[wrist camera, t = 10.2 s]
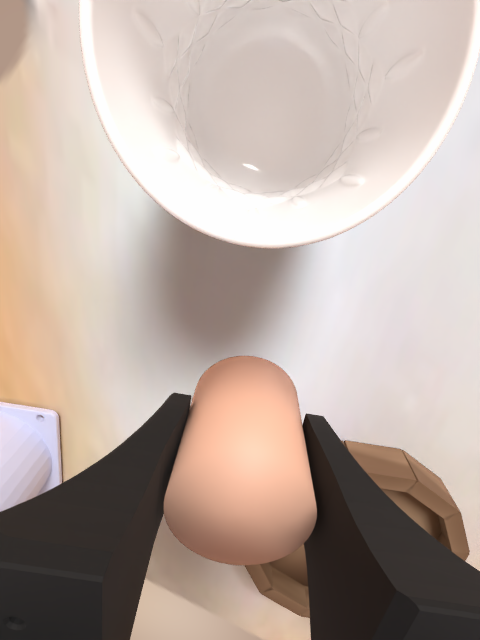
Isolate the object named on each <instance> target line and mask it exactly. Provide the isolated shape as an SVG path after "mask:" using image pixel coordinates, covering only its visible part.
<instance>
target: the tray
mask: <svg viewBox="0 0 480 640" xmlns="http://www.w3.org/2000/svg"><path fill="white" fill-rule="evenodd" d="M341 442H342V443H343V444H344V446H345V447H346V448H347V450H348V451H349V452H350V453H351V455H352V456H353V457H354V458H355V460H356V461H357V462H358V463H359V465H360V466H361V467H362V468H363V469H364V471H365V472H366V473H367V474H368V475H369V476H370V477H371V479H372V480H373V481H374V482H375V483H376V484H377V485H378V486H379V487H380V489H381V490H382V491H383V492H384V493H385V494H386V495H387V496H388V497H389V498H390V499H391V500H392V501H393V502H394V503H395V504H396V505H397V506H398V507H399V508H400V509H402V510H403V511H404V512H405V513H406V514H407V515H408V516H409V517H410V518H411V519H413V520H414V521H415V522H416V523H417V524H418V525H420V526H421V527H422V528H423V529H424V530H425V531H427V532H428V533H429V534H430V535H431V536H433V537H434V538H435V539H436V540H438V541H439V542H440V543H441V544H443V545H444V546H445V547H447V548H448V549H449V550H451V551H452V552H453V553H455V554H456V555H457V556H459V557H460V558H461V559H463V560H464V561H465V560H466V559H467V557H468V555H469V547H468V543H467V538H466V534H465V529H464V525H463V520H462V516H461V512H460V511H459V509H458V507H457V506H456V504H455V502H454V500H453V499H452V497H451V495H450V494H449V492H448V490H447V489H446V487H445V485H444V484H443V482H442V480H441V479H440V478H439V477H438V476H436V475H435V474H434V473H433V472H431V471H430V470H429V469H427V468H426V467H425V466H423V465H422V464H421V463H419V462H418V461H417V460H415V459H414V458H413V457H411V456H410V455H409V454H407V453H406V452H405V451H403V450H402V451H401V449H397V448H390V447H384V446H377V445H371V444H365V443H358V442H352V441H346V440H345V443H344V442H343V441H341ZM245 567H246V569H247V571H248V572H249V574H250V576H251V578H252V579H253V581H254V583H255V585H256V587H257V588H258V590H259V592H260V593H261V594H262V595H264V596H266V597H267V598H269V599H271V600H273V601H274V602H276V603H278V604H280V605H281V606H283V607H285V608H287V609H288V610H290V611H292V612H294V613H295V614H297V615H299V616H300V615H301V617H308V618H310V608H309V592H308V577H307V564H306V556H305V549H304V544H303V545H301V546H300V547H299V548H298V549H297V550H295V551H294V552H292V553H291V554H289V555H287V556H285V557H283V558H280V559H278V560H275V561H271V562H268V563H263V564H257V565H245Z"/></svg>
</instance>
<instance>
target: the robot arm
mask: <svg viewBox="0 0 480 640" xmlns="http://www.w3.org/2000/svg"><path fill="white" fill-rule="evenodd" d="M190 402H191V395H185V394H178V393H173V394H171V395H170V396H169V398H168V399H167V400H166V401H165V402H164V404H163V405H162V406H161V407H160V408H159V409H158V410H157V411H156V412H155V413H154V415H153V416H152V417H150V418H149V419H148V420H147V421H146V422H145V423H144V424H143V425H142V426H141V427H140V428H139V429H138V430H137V431H136V432H135V433H134V434H132V435H131V436H130V437H129V438H128V439H127V440H125V441H124V442H123V443H122V444H121V445H119V446H118V447H117V448H116V449H114V450H113V451H112V452H110V453H109V454H108V455H106V456H105V457H104V458H102V459H101V460H99V461H98V462H96V463H95V464H93V465H92V466H90V467H89V468H87V469H86V470H84V471H82V472H81V473H79V474H78V475H76V476H74V477H73V478H71V479H69V480H67V481H65V482H64V483H62V469H61V448H60V428H59V416H58V414H57V413H56V412H55V411H53V410H49V409H43V408H36V407H30V406H24V405H17V404H11V403H5V402H0V640H130V636H131V632H132V628H133V624H134V620H135V616H136V612H137V608H138V604H139V599H140V596H141V591H142V587H143V584H144V580H145V576H146V572H147V568H148V564H149V560H150V556H151V552H152V548H153V544H154V541H155V538H156V534H157V531H158V528H159V525H160V522H161V520H162V517H163V514H164V498H165V494H166V490H167V487H168V483H169V480H170V476H171V473H172V469H173V466H174V462H175V459H176V455H177V452H178V448H179V445H180V441H181V438H182V434H183V431H184V428H185V424H186V421H187V417H188V414H189V410H190ZM40 415H42V416H43V417H44V418H43V417H41V416H40ZM303 432H304V438H305V443H306V449H307V455H308V461H309V466H310V472H311V478H312V483H313V489H314V495H315V501H316V507H317V519H316V523H315V526H314V529H313V531H312V533H311V535H310V536H309V538H308V539H307V540H306V541H305V542H304V549H305V556H306V564H307V577H308V592H309V608H310V627H311V640H480V571H478V570H477V569H475V568H474V567H472V566H471V565H469V564H468V563H467V562H465V561H464V560H463V559H461V558H460V557H459V556H457V555H456V554H455V553H453V552H452V551H451V550H449V549H448V548H447V547H445V546H444V545H443V544H441V543H440V542H439V541H438V540H436V539H435V538H434V537H433V536H431V535H430V534H429V533H428V532H427V531H425V530H424V529H423V528H422V527H421V526H420V525H418V524H417V523H416V522H415V521H414V520H413V519H411V518H410V517H409V516H408V515H407V514H406V513H405V512H404V511H403V510H402V509H400V508H399V507H398V506H397V505H396V504H395V503H394V502H393V501H392V500H391V499H390V498H389V497H388V496H387V495H386V494H385V493H384V492H383V491H382V490H381V489H380V487H379V486H378V485H377V484H376V483H375V482H374V481H373V480H372V479H371V477H370V476H369V475H368V474H367V473H366V472H365V471H364V469H363V468H362V467H361V466H360V465H359V463H358V462H357V461H356V460H355V458H354V457H353V456H352V455H351V453H350V452H349V451H348V450H347V448H346V447H345V446H344V444H343V443H342V442H341V440H340V439H339V437H338V436H337V435H336V433H335V432H334V431H333V429H332V428H331V426H330V425H329V424H328V422H327V421H326V419H325V418H324V417H323V416H318V415H312V414H306V415H305V419H304V422H303Z"/></svg>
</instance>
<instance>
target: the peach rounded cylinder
mask: <svg viewBox="0 0 480 640" xmlns="http://www.w3.org/2000/svg"><path fill="white" fill-rule="evenodd" d="M164 515H165V519H166V522H167V524H168V526H169V528H170V530H171V531H172V533H173V534H174V536H175V537H176V538H177V539H178V540H179V541H180V542H181V543H182V544H183V545H185V546H186V547H187V548H188V549H190V550H192V551H193V552H195V553H197V554H199V555H201V556H203V557H205V558H208V559H210V560H213V561H217V562H221V563H226V564H233V565H257V564H263V563H268V562H271V561H275V560H278V559H280V558H283V557H285V556H287V555H289V554H291V553H292V552H294V551H295V550H297V549H298V548H299V547H300V546H301V545H303V544H304V542H305V541H306V540H307V539H308V538H309V536H310V535H311V533H312V531H313V529H314V526H315V523H316V519H317V507H316V501H315V495H314V489H313V483H312V478H311V472H310V466H309V461H308V455H307V449H306V443H305V438H304V432H303V426H302V421H301V415H300V409H299V403H298V398H297V392H296V389H295V386H294V384H293V382H292V380H291V379H290V377H289V376H288V375H287V373H286V372H285V371H284V370H282V369H281V368H280V367H279V366H277V365H276V364H274V363H272V362H270V361H268V360H265V359H262V358H259V357H254V356H236V357H231V358H227V359H224V360H221V361H219V362H217V363H216V364H214V365H213V366H211V367H210V368H209V369H208V370H206V371H205V372H204V374H203V375H202V376H201V378H200V379H199V381H198V383H197V386H196V389H195V392H194V396H193V399H192V403H191V406H190V410H189V414H188V417H187V421H186V424H185V428H184V431H183V434H182V438H181V441H180V445H179V448H178V452H177V455H176V459H175V462H174V466H173V469H172V473H171V476H170V480H169V483H168V487H167V490H166V494H165V498H164Z"/></svg>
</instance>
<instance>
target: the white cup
mask: <svg viewBox="0 0 480 640" xmlns="http://www.w3.org/2000/svg"><path fill="white" fill-rule="evenodd" d="M79 31H80V43H81V51H82V58H83V64H84V69H85V74H86V78H87V83H88V87H89V90H90V94H91V97H92V100H93V103H94V106H95V109H96V112H97V114H98V117H99V119H100V122H101V124H102V127H103V129H104V131H105V133H106V135H107V137H108V139H109V141H110V143H111V145H112V147H113V148H114V150H115V152H116V154H117V155H118V157H119V158H120V160H121V161H122V163H123V164H124V166H125V167H126V169H127V170H128V172H129V173H130V174H131V176H132V177H133V178H134V179H135V181H136V182H137V183H138V184H139V185H140V186H141V188H142V189H143V190H144V191H145V192H146V193H147V194H148V195H149V196H150V197H151V198H152V199H153V200H154V201H155V202H156V203H157V204H159V205H160V206H161V207H162V208H163V209H165V210H166V211H167V212H168V213H170V214H171V215H172V216H174V217H175V218H177V219H178V220H180V221H181V222H183V223H184V224H186V225H188V226H189V227H191V228H193V229H195V230H197V231H199V232H201V233H203V234H206V235H208V236H210V237H213V238H216V239H218V240H221V241H225V242H228V243H232V244H236V245H241V246H247V247H255V248H288V247H296V246H302V245H307V244H312V243H315V242H319V241H322V240H325V239H328V238H331V237H334V236H336V235H339V234H341V233H343V232H346V231H348V230H350V229H352V228H354V227H356V226H357V225H359V224H361V223H363V222H364V221H366V220H368V219H369V218H371V217H372V216H374V215H375V214H377V213H378V212H379V211H381V210H382V209H383V208H385V207H386V206H387V205H388V204H390V203H391V202H392V201H393V200H394V199H396V198H397V197H398V196H399V195H400V194H401V193H402V192H403V191H404V190H405V189H406V188H407V187H408V186H409V185H410V184H411V183H412V182H413V181H414V180H415V179H416V178H417V176H418V175H419V174H420V173H421V172H422V171H423V169H424V168H425V167H426V166H427V164H428V163H429V162H430V160H431V159H432V158H433V156H434V155H435V153H436V152H437V150H438V149H439V147H440V146H441V144H442V143H443V141H444V139H445V138H446V136H447V134H448V132H449V131H450V129H451V127H452V125H453V123H454V121H455V119H456V117H457V115H458V113H459V111H460V109H461V106H462V104H463V102H464V99H465V97H466V94H467V92H468V89H469V86H470V83H471V80H472V77H473V74H474V71H475V67H476V64H477V60H478V56H479V52H480V0H79Z"/></svg>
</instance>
